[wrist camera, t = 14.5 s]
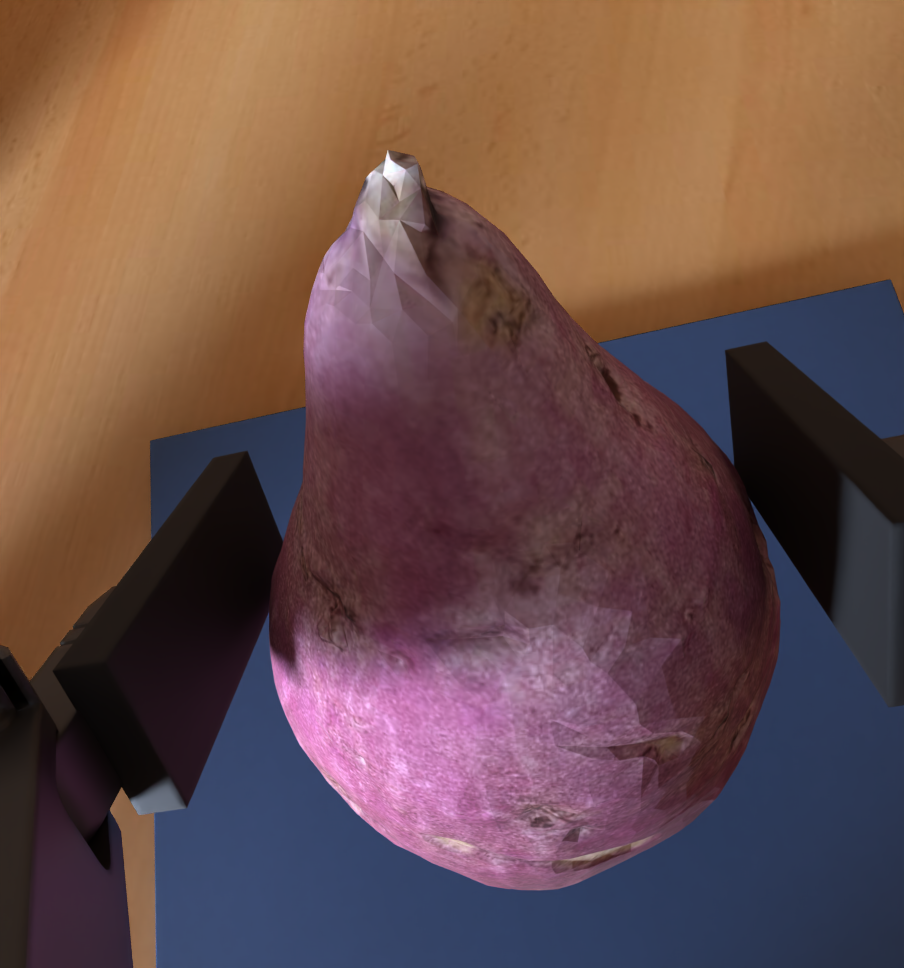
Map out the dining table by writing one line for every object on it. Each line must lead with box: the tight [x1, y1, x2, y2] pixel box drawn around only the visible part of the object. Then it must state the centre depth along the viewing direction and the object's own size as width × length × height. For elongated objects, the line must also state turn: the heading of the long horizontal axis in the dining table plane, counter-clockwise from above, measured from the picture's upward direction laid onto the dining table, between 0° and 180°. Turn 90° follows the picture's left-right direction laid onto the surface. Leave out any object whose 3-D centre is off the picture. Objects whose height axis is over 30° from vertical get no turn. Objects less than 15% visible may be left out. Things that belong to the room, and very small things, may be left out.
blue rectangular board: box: [150, 280, 904, 968], centre depth 21 cm, size 24×18×1 cm
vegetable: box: [269, 150, 781, 890], centre depth 13 cm, size 10×10×15 cm
